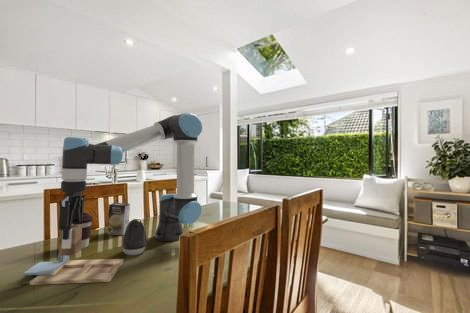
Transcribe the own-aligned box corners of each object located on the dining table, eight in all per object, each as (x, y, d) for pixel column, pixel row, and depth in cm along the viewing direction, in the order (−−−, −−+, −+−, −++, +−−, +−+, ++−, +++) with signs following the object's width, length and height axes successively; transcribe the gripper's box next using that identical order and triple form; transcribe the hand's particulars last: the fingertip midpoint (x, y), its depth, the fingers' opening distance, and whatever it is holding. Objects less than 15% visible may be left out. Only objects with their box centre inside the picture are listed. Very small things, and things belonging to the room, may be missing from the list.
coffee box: (106, 234, 130) (107, 204, 130) (113, 231, 136) (114, 202, 137) (123, 235, 130) (124, 205, 130) (129, 231, 136) (130, 203, 136)
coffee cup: (79, 252, 106) (81, 217, 106) (60, 249, 108) (62, 215, 108) (96, 244, 115) (98, 213, 115) (78, 242, 117) (80, 211, 117)
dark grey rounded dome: (121, 260, 100) (123, 223, 100) (120, 250, 109) (122, 217, 109) (147, 256, 105) (149, 221, 105) (144, 247, 114) (146, 215, 114)
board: (123, 262, 98) (123, 258, 98) (109, 283, 82) (109, 278, 82) (57, 264, 94) (57, 260, 94) (29, 286, 78) (29, 281, 78)
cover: (68, 259, 94) (68, 251, 94) (49, 274, 82) (50, 265, 82) (45, 259, 93) (45, 251, 93) (23, 275, 81) (23, 265, 81)
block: (80, 249, 90) (82, 225, 90) (74, 255, 85) (75, 229, 85) (66, 250, 89) (67, 225, 89) (58, 255, 84) (59, 229, 84)
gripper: (74, 177, 96) (71, 237, 95) (47, 182, 78) (43, 255, 78) (95, 178, 97) (92, 236, 97) (73, 183, 79) (69, 255, 79)
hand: (70, 245), depth 87 cm, fingers closed on block, 5 cm apart
